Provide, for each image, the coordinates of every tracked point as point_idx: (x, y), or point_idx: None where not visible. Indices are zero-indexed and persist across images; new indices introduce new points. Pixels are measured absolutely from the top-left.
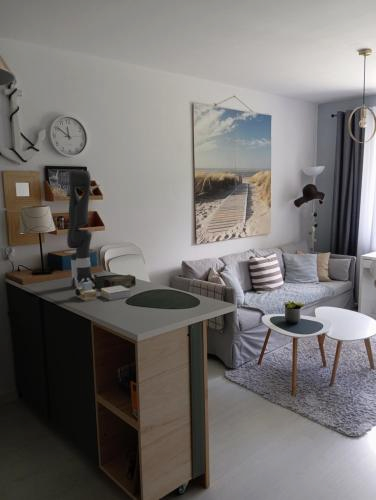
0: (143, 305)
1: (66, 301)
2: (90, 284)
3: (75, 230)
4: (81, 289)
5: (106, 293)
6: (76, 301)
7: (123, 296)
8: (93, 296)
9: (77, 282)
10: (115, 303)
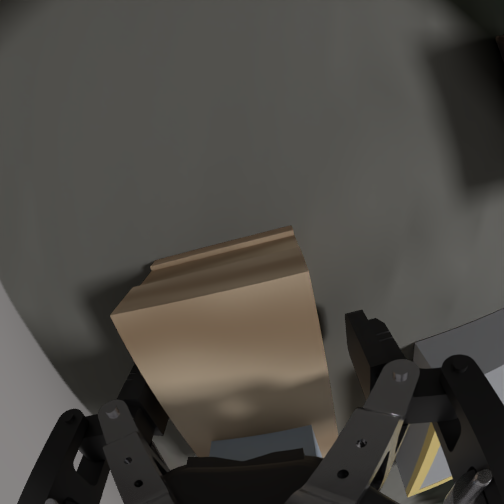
0: (443, 497)
1: (92, 393)
2: None
3: None
4: (200, 428)
5: (413, 459)
6: (169, 427)
7: None
8: None
9: (112, 469)
10: (385, 490)
